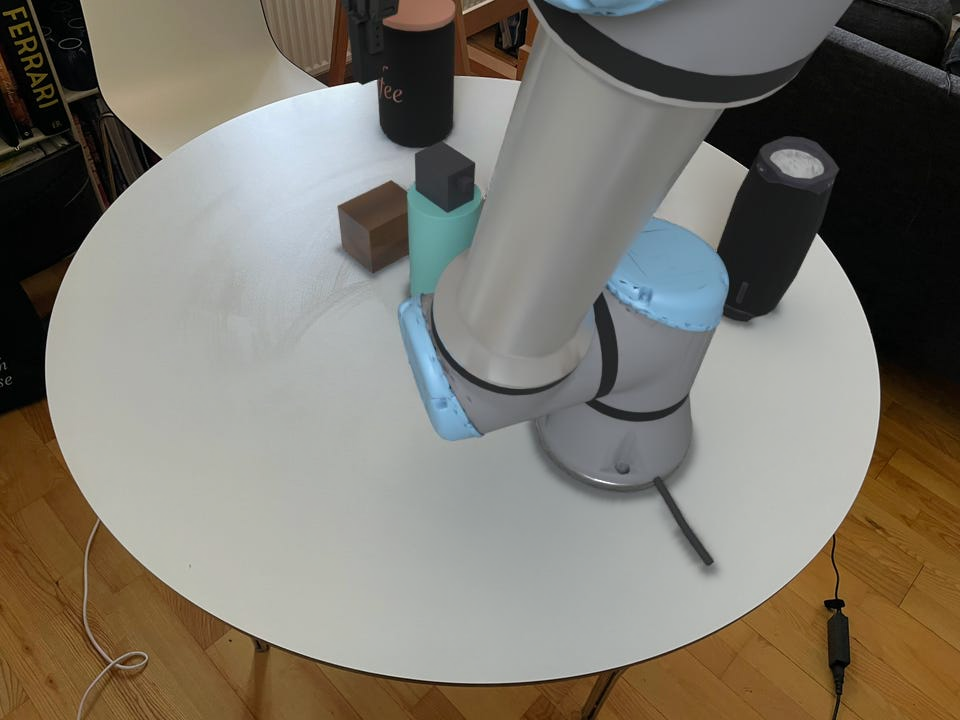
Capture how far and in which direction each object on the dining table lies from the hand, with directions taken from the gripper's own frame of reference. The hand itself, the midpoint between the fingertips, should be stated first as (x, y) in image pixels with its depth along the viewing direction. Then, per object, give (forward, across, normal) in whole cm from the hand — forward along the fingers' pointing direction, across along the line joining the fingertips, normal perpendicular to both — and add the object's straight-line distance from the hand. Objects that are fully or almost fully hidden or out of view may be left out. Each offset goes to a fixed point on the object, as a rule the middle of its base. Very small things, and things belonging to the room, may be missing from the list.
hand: (368, 77), depth 77 cm
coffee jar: (+22, +17, -20) cm, 34 cm away
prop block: (+22, -1, 0) cm, 22 cm away
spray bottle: (+21, -7, 0) cm, 23 cm away
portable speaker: (+22, -35, -26) cm, 49 cm away
